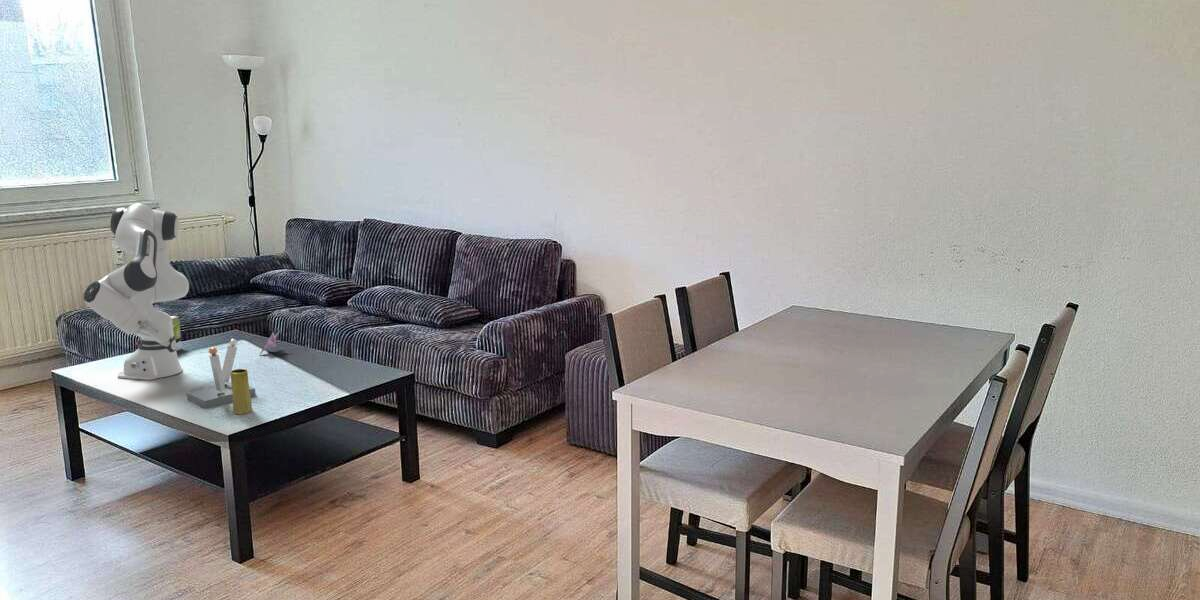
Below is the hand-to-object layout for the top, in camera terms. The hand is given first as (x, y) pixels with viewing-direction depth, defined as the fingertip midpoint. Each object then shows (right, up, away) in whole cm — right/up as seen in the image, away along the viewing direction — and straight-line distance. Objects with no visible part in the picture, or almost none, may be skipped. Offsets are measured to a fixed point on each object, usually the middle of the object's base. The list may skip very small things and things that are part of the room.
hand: (166, 344), depth 284 cm
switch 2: (+7, -15, +26) cm, 31 cm away
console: (+9, -20, +22) cm, 31 cm away
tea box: (-42, -8, +81) cm, 91 cm away
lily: (+5, -8, +79) cm, 79 cm away
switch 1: (+11, -17, +16) cm, 26 cm away
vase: (+22, -23, +7) cm, 33 cm away
